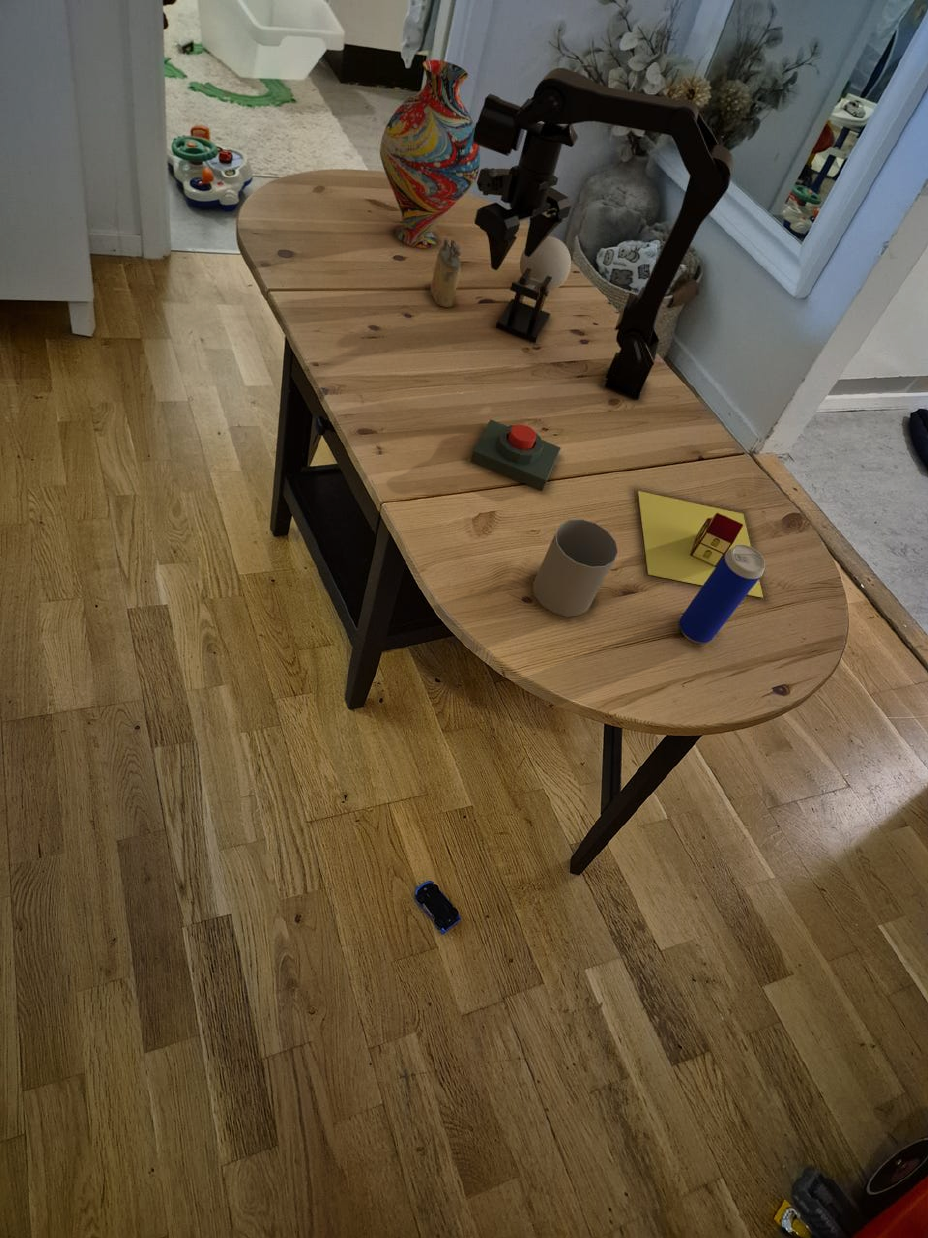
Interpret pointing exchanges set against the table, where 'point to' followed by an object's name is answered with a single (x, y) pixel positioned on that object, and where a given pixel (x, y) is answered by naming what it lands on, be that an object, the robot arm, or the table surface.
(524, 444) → the button
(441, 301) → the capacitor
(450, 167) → the vase
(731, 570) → the beverage can
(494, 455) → the button box
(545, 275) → the ball
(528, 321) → the tap bracket
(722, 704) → the table surface
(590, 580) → the cup
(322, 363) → the table surface
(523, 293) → the lever
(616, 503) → the table surface
